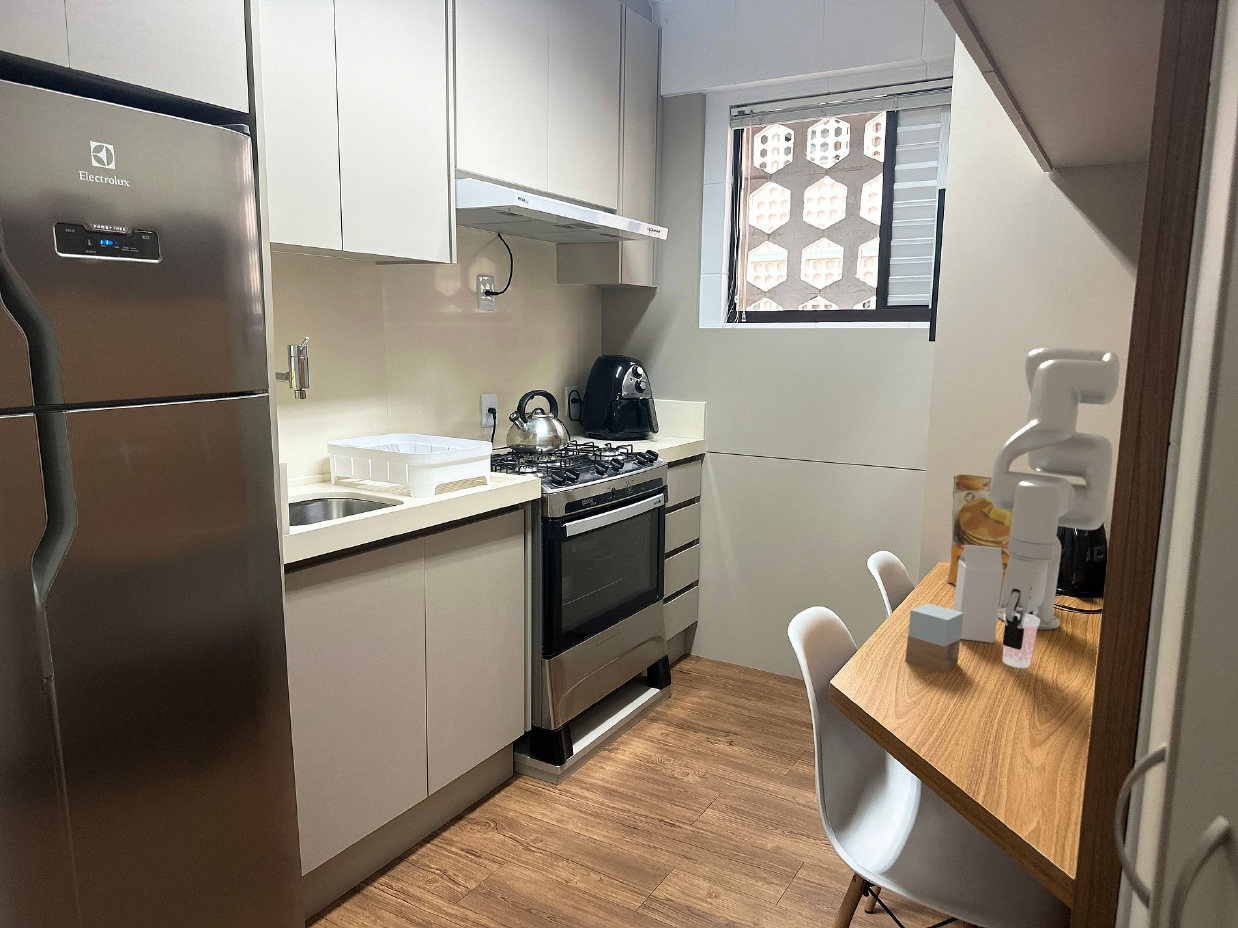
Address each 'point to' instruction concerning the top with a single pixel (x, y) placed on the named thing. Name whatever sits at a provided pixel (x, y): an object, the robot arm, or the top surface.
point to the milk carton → (979, 591)
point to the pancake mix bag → (977, 521)
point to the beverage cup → (1024, 654)
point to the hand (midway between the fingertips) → (1018, 641)
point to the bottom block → (932, 654)
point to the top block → (935, 624)
